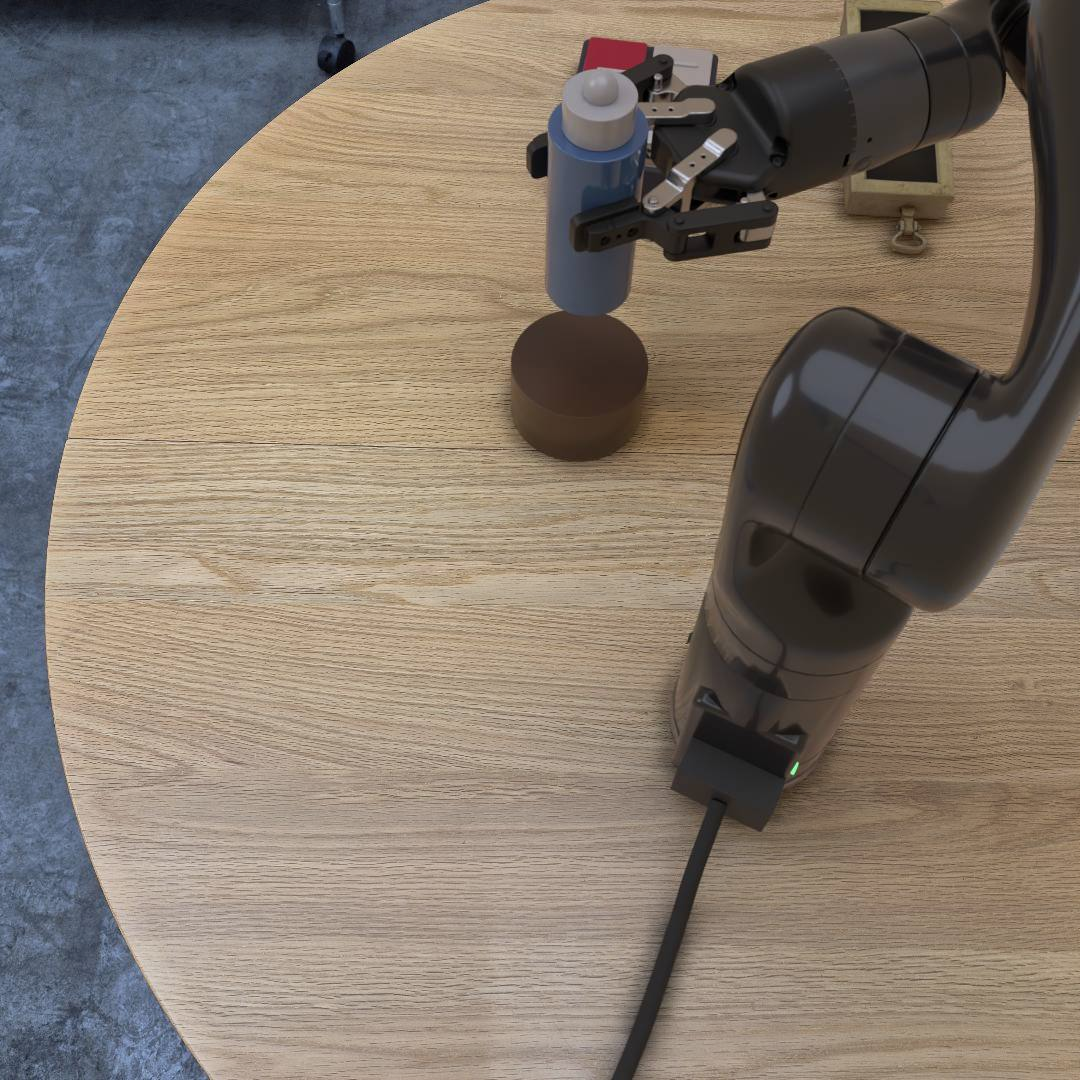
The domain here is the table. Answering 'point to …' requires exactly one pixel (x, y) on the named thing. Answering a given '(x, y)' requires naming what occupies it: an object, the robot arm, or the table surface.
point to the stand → (578, 385)
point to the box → (911, 178)
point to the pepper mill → (592, 187)
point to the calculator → (627, 54)
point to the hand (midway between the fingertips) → (551, 197)
